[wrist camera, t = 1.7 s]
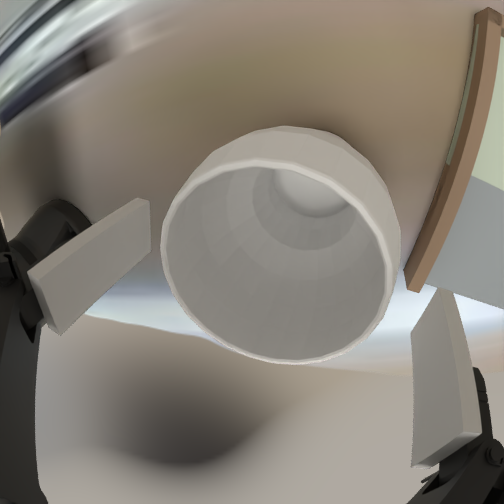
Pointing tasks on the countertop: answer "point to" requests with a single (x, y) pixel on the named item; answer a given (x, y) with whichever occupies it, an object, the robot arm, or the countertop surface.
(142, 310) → the countertop surface
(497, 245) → the rail board
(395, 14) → the countertop surface
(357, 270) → the cup
